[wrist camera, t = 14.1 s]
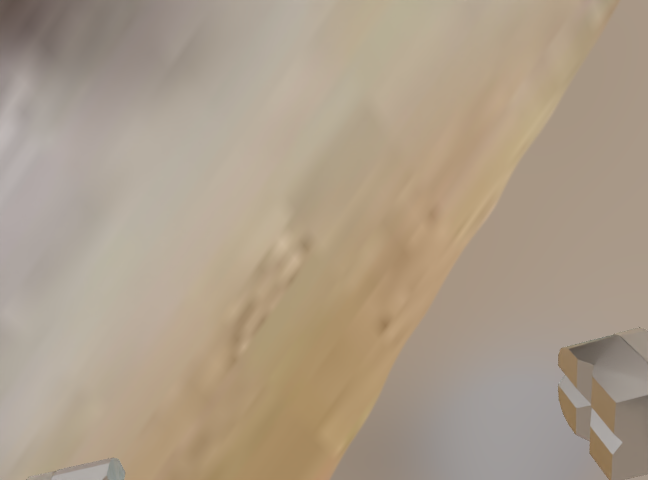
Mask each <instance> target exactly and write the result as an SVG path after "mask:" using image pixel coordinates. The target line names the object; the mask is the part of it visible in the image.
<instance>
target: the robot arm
mask: <svg viewBox="0 0 648 480" xmlns="http://www.w3.org/2000/svg"><path fill="white" fill-rule="evenodd" d="M558 366H559V367H560V368H561V369H562V371H563V372H564V373H565V376H564V377H563V379H562V380H561V381H560V383H559V384H558V392H559V401H560V405H561V409H562V412H563V415H564V417H565V419H566V421H567V422H568V424H569V426H570V427H571V428H572V430H573V431H574V433H575V434H576V435H577V436H580V437H581V438H584V439H586V440H588V441H590V455H591V456H592V457H593V459H594V460H595V462H596V463H597V464H598V466H599V467H600V468H601V469H602V471H603V472H604V474H605V475H606V476H607V478H608V479H609V480H625V479H629V478H634V477H638V476H642V475H647V474H648V331H647V330H646V329H643V328H640V327H639V328H635V329H631V330H627V331H624V332H620V333H616V334H613V335H611V336H606V337H602V338H598V339H594V340H590V341H586V342H583V343H579V344H575V345H570V346H567V347H563V348H561V349H560V352H559V355H558ZM124 477H125V471H124V469H123V467H122V465H121V463H120V461H119V459H116V458H110V459H105V460H100V461H96V462H91V463H87V464H82V465H78V466H73V467H69V468H64V469H60V470H57V471H54V472H49V473H44V474H40V475H35V476H30V477H28V478H27V479H26V480H124Z"/></svg>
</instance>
